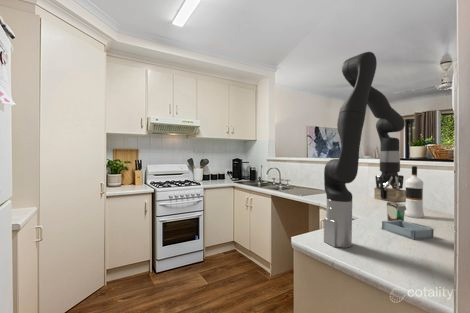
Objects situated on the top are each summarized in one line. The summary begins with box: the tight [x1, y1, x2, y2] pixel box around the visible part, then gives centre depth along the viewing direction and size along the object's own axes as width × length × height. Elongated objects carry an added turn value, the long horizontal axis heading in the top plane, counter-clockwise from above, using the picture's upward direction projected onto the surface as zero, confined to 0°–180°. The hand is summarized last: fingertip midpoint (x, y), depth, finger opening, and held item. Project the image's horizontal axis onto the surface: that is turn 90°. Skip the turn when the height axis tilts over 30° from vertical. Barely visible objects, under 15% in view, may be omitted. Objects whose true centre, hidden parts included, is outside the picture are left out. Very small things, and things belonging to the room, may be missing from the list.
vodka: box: [404, 165, 425, 219], centre depth 133 cm, size 9×9×30 cm
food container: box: [386, 201, 406, 222], centre depth 118 cm, size 12×6×10 cm, turn 168°
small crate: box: [373, 187, 406, 204], centre depth 100 cm, size 6×10×5 cm, turn 16°
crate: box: [381, 220, 435, 241], centre depth 102 cm, size 12×15×4 cm
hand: (389, 198), depth 100 cm, fingers closed on small crate, 6 cm apart
